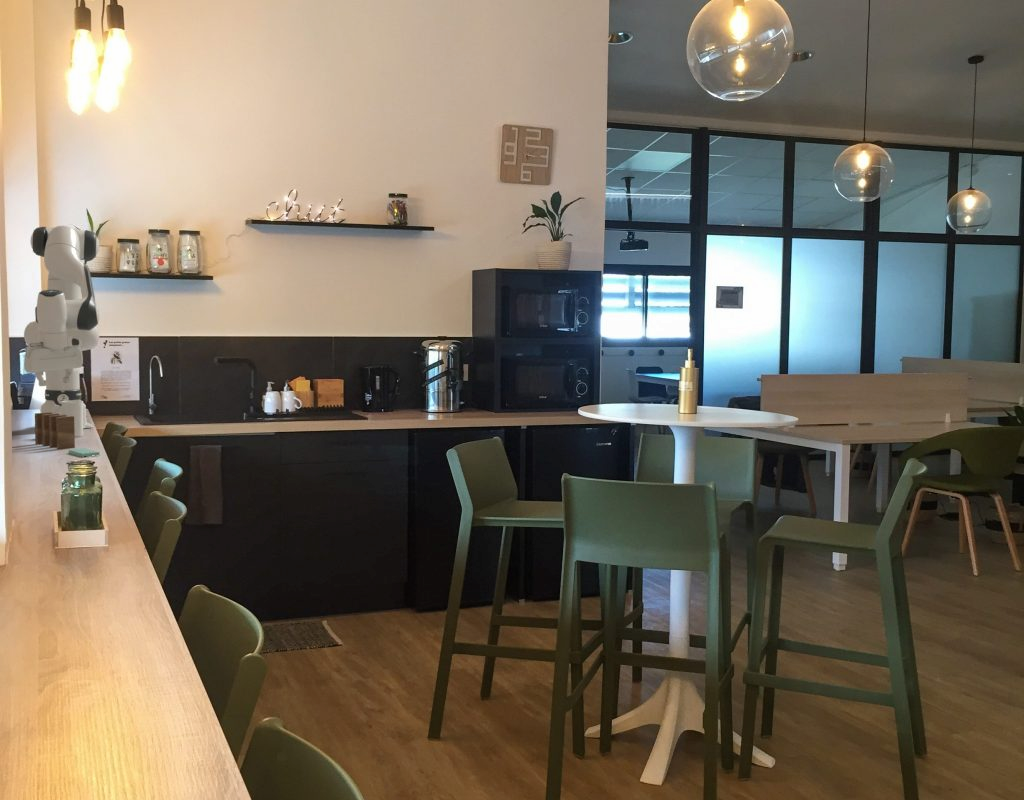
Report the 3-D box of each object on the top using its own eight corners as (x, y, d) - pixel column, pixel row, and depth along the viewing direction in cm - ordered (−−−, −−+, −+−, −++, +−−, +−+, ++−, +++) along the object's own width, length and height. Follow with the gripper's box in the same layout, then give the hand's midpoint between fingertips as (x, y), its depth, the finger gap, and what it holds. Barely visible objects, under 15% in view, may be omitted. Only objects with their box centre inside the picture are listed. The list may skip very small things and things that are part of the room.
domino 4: (57, 448, 321) (56, 417, 320) (72, 447, 324) (71, 415, 323) (59, 449, 320) (58, 417, 319) (74, 447, 323) (74, 416, 322)
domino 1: (35, 444, 329) (34, 413, 328) (50, 442, 333) (49, 412, 332) (37, 444, 328) (37, 413, 327) (52, 443, 332) (52, 412, 331)
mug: (84, 434, 353) (83, 400, 352) (83, 437, 347) (83, 402, 345) (52, 435, 349) (51, 400, 348) (51, 438, 343) (50, 402, 342)
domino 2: (42, 445, 326) (41, 414, 325) (57, 444, 330) (56, 413, 329) (45, 446, 325) (44, 415, 324) (60, 444, 329) (59, 413, 328)
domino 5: (68, 449, 312) (83, 453, 305) (84, 448, 315) (99, 452, 309) (68, 455, 312) (83, 459, 305) (84, 453, 316) (99, 457, 309)
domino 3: (49, 447, 323) (48, 415, 322) (64, 445, 327) (64, 414, 326) (52, 447, 322) (51, 416, 321) (67, 446, 326) (66, 415, 325)
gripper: (33, 344, 313) (34, 388, 314) (85, 339, 331) (86, 381, 333) (18, 343, 315) (20, 387, 317) (71, 338, 334) (72, 380, 336)
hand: (54, 384), depth 325 cm, fingers open, 8 cm apart
